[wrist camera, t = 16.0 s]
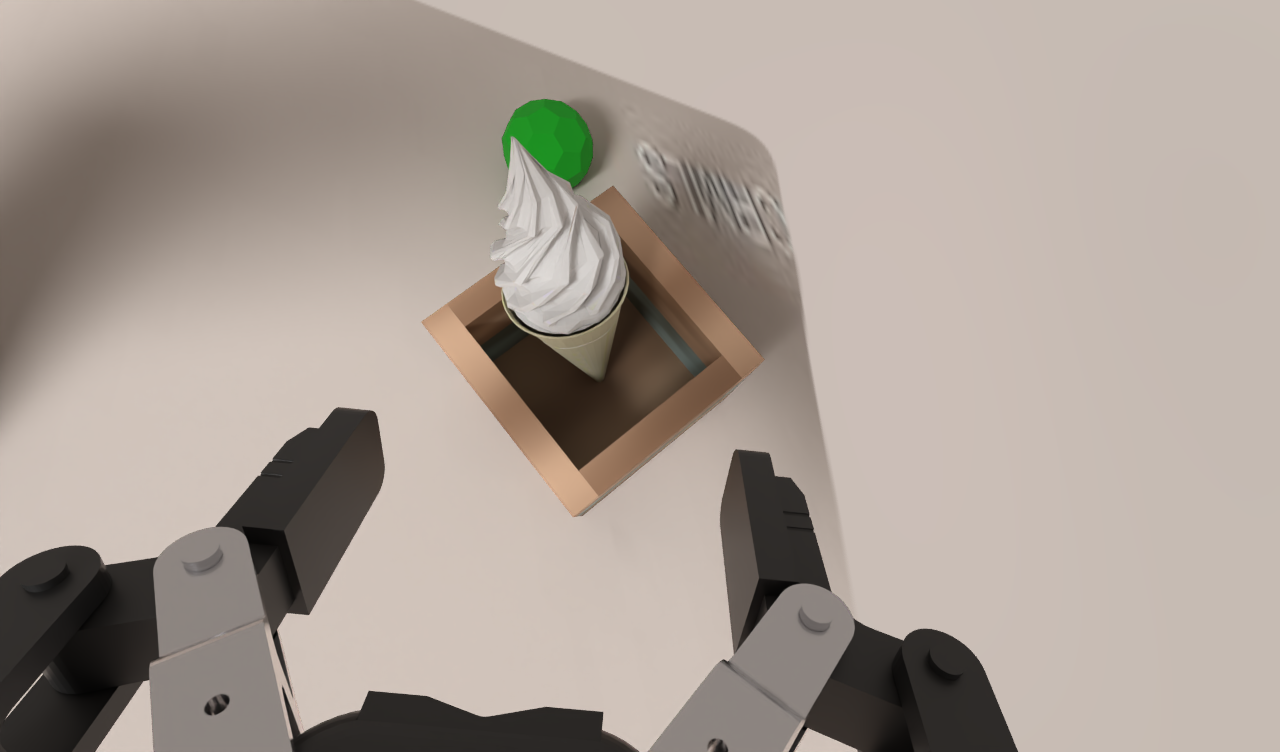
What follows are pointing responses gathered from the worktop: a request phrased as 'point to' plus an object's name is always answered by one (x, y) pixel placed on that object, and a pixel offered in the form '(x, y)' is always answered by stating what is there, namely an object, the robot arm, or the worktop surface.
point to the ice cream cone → (559, 265)
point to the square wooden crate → (635, 376)
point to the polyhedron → (552, 138)
